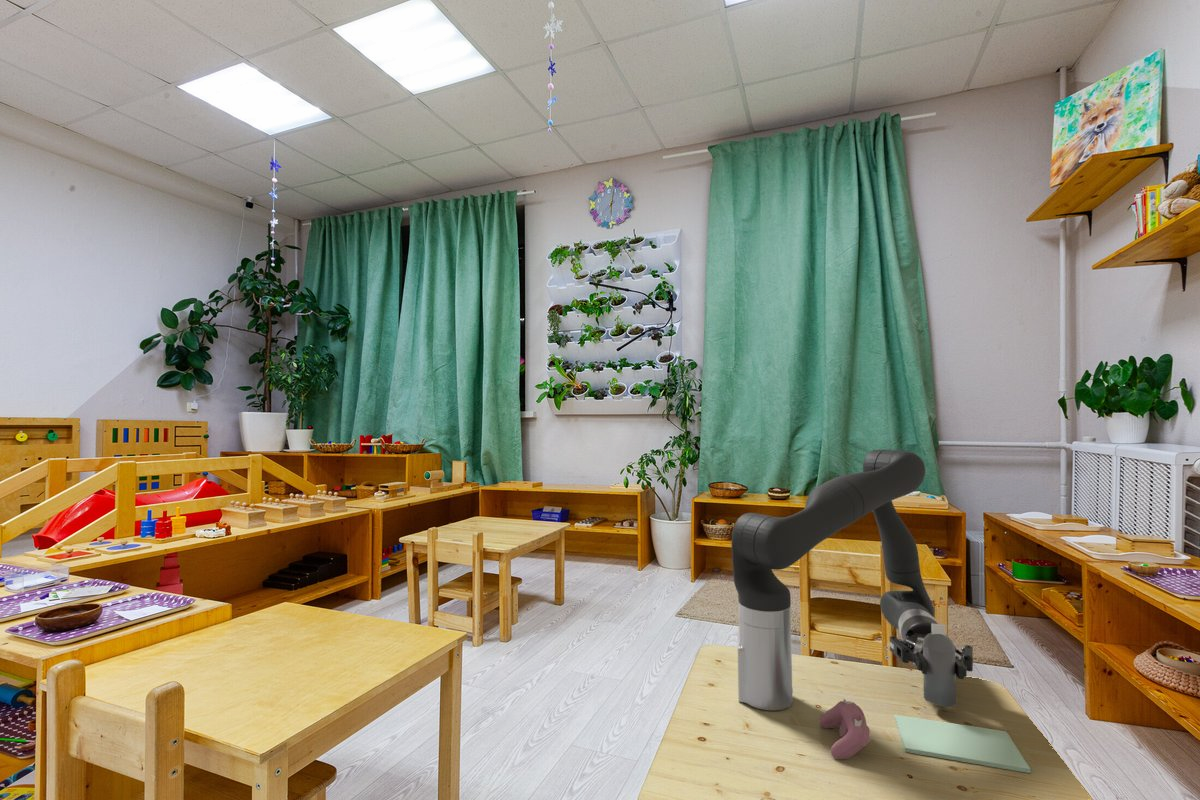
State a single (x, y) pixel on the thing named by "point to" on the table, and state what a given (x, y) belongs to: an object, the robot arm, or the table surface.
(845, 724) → the mauve curved piece
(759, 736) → the table surface
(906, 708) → the table surface
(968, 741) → the mat
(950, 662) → the grey bottle
